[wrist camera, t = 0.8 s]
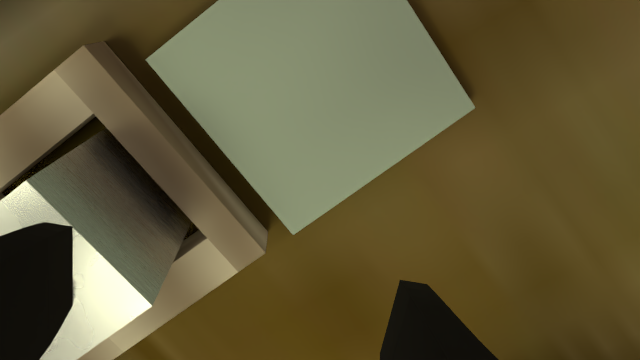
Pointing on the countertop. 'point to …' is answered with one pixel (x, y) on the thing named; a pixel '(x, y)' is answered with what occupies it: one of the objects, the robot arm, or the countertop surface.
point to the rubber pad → (311, 93)
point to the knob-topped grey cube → (102, 236)
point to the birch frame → (159, 162)
